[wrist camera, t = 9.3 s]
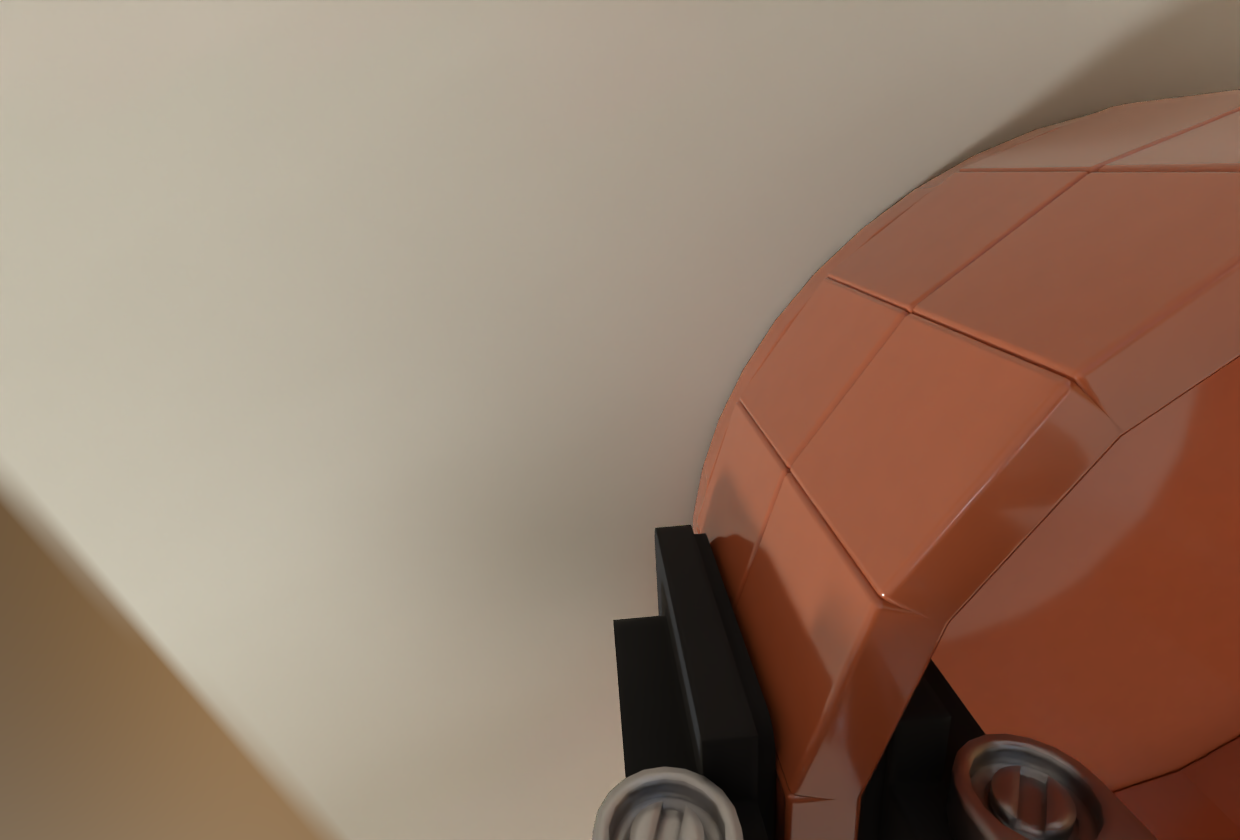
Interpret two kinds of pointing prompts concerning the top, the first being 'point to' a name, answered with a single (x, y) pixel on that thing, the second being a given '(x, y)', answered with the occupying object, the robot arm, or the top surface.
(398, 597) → the top surface
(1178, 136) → the bowl
